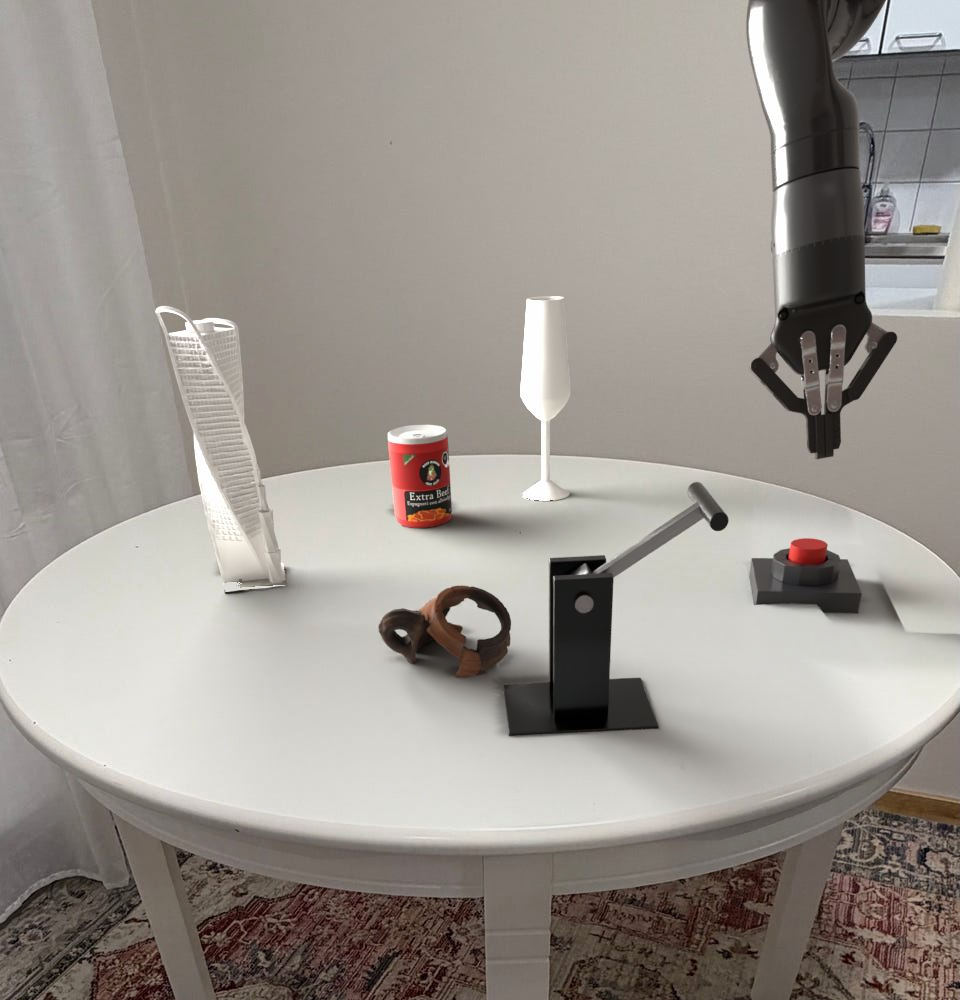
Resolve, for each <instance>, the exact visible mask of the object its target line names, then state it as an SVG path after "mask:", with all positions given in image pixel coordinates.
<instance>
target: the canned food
mask: <svg viewBox="0 0 960 1000" xmlns="http://www.w3.org/2000/svg"><path fill="white" fill-rule="evenodd" d="M387 445H388V457H389V467H390V478H391V488H392V498H393V499H392V500H393V508H394V516H395V519H396V521H397V523H398V524H400V525H401V526H404V527H407V528H413V529H414V528H415V529H419V528H420V529H424V528H425V529H426V528H433V527H438V526H441V525H444V524H446V523H448V522H450V520H451V519H452V513H453V508H452V507H453V506H452V488H451V469H450V467H451V466H450V450H449V435H448V430H447V429H446V428H445V427H443V426H440V425H436V424H411V425H410V424H409V425H405V426H400V427H395V428H393V429H391V430H389V432H387Z"/></svg>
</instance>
